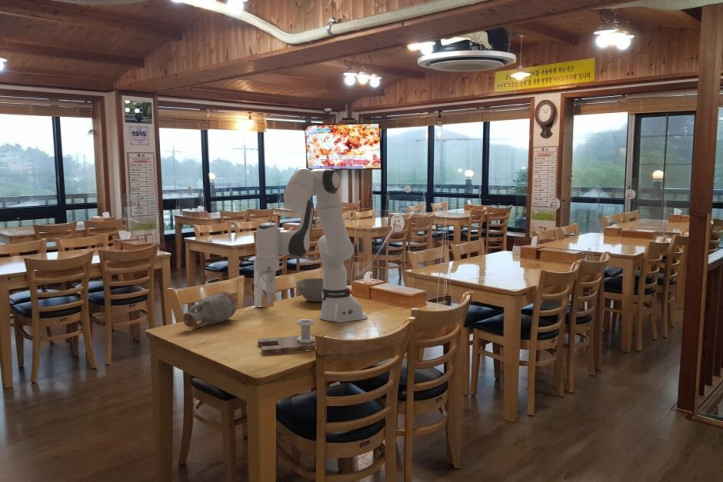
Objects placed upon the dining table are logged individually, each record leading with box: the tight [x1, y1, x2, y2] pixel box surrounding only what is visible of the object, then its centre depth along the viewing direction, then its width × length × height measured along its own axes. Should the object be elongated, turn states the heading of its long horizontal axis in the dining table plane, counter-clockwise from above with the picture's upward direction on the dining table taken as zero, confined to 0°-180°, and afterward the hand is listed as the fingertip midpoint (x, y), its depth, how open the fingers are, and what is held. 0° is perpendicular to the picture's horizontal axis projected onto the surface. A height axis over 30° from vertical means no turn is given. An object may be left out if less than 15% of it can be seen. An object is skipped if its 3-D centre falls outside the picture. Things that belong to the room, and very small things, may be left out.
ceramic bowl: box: [295, 277, 323, 303], centre depth 304 cm, size 22×23×10 cm
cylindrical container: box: [253, 256, 263, 308], centre depth 290 cm, size 7×7×25 cm
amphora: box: [182, 290, 239, 329], centre depth 259 cm, size 14×16×30 cm
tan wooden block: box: [262, 290, 275, 308], centre depth 222 cm, size 4×4×6 cm
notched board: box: [257, 334, 316, 356], centre depth 228 cm, size 24×14×2 cm, turn 108°
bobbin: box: [296, 318, 316, 343], centre depth 229 cm, size 7×7×8 cm
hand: (267, 300), depth 222 cm, fingers closed on tan wooden block, 4 cm apart
